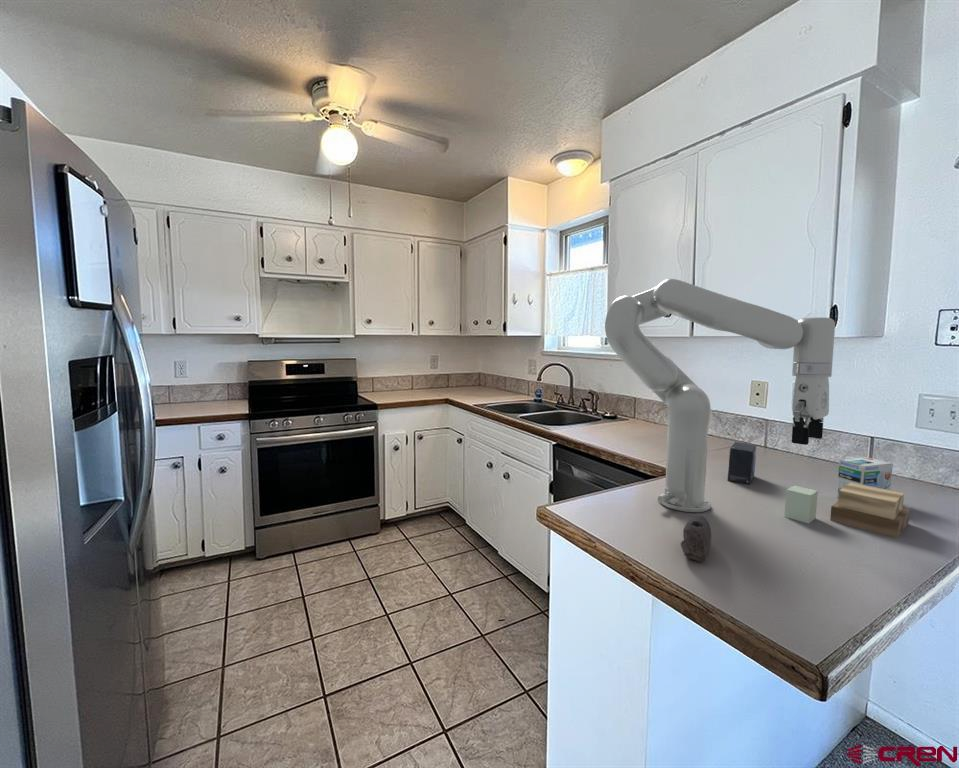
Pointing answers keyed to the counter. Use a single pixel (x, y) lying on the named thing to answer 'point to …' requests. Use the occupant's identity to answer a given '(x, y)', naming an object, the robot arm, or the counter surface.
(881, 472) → the light bulb box
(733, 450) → the small box
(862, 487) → the oak slab
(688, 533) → the perforated stone tool
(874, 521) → the walnut slab
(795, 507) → the sage block
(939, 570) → the counter surface
